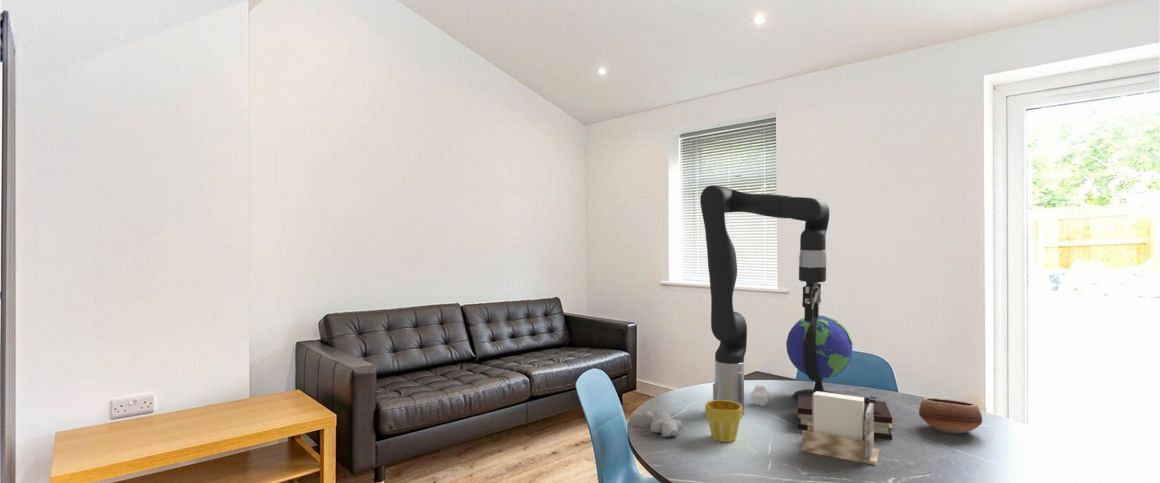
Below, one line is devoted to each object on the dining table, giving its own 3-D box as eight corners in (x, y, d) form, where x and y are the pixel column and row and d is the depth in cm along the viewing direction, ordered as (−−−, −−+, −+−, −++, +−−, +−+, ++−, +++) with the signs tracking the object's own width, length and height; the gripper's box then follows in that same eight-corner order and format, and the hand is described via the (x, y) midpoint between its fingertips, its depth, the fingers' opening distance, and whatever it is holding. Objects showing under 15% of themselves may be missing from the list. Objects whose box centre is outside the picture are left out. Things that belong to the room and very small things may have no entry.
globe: (865, 408, 191) (865, 319, 190) (799, 408, 191) (799, 319, 191) (836, 390, 213) (836, 311, 213) (777, 390, 213) (777, 311, 213)
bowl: (975, 427, 171) (975, 394, 171) (987, 445, 157) (987, 409, 157) (915, 420, 178) (916, 389, 178) (922, 436, 164) (922, 402, 163)
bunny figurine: (656, 426, 161) (640, 405, 176) (656, 443, 162) (639, 421, 176) (687, 424, 163) (668, 403, 178) (686, 441, 164) (668, 418, 178)
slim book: (812, 445, 154) (812, 394, 154) (814, 440, 158) (814, 390, 158) (862, 454, 148) (862, 401, 148) (864, 449, 151) (864, 397, 151)
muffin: (754, 400, 200) (754, 381, 200) (771, 403, 196) (771, 383, 196) (748, 405, 195) (748, 384, 195) (766, 408, 191) (766, 387, 191)
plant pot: (722, 447, 156) (722, 412, 156) (697, 435, 165) (697, 402, 165) (750, 441, 160) (750, 407, 160) (725, 430, 170) (725, 397, 169)
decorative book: (791, 389, 188) (893, 398, 177) (791, 411, 188) (893, 422, 177) (789, 405, 171) (902, 417, 159) (789, 430, 171) (902, 443, 159)
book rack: (801, 450, 153) (801, 403, 153) (809, 439, 161) (809, 394, 161) (876, 465, 143) (876, 414, 143) (879, 452, 152) (880, 404, 152)
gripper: (804, 263, 175) (803, 315, 176) (793, 266, 164) (792, 321, 164) (830, 264, 171) (829, 317, 172) (821, 267, 159) (820, 324, 160)
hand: (811, 319), depth 168 cm, fingers open, 8 cm apart
